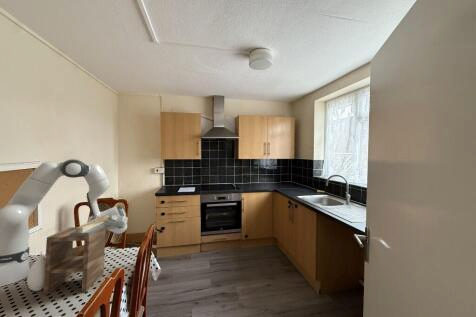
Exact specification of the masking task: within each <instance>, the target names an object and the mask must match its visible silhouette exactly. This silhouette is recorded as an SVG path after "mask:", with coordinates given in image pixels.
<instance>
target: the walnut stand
mask: <svg viewBox="0 0 476 317" xmlns="http://www.w3.org/2000/svg"><path fill="white" fill-rule="evenodd" d="M76 228H77V226H74V227H68V228H66V229H63V230H60V231H58V232H56V233H54V234H51V235H49V236H47V237H46V244H45V274H44V288H43V292H42V293H43V294H42V295H43V296H47V295H49V294H51V293H52V292H53V291H54V290H55V289H57V288H58V287H59V286H61V285H62V284H63V283H65V282H66V281H67V280H68V279H70V278H71V277H72V273H79V272H81V273H82V277H81V280H82V281H81V293H87V292H88V291H89V290H90V287H91V286H92V285H93V284H94V283H95V282H96V281H97V282H98V281H99V280H100V279H101V278H102V275H103V276H104V271H105V270H104V268H105V267H104V266H105V250H106V247H105V246H106V230H107V229H106V227H103V228H102V229H100V230H98V231H96V232H95V233H93V234H91V235H89V236H70V233H72V232H74V231H76ZM78 241H79V242H80V241H81V242H83V245H84V256H72V250H73V248H74V247H73V245H74V242H78ZM99 278H100V279H99ZM97 282H96V283H97ZM96 283H95V284H96ZM95 284H94V285H95ZM94 285H93V286H94ZM93 286H92V287H93ZM92 287H91V288H92Z"/></svg>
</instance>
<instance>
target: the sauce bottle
mask: <svg viewBox="0 0 476 317" xmlns="http://www.w3.org/2000/svg"><path fill="white" fill-rule="evenodd" d="M45 258H46V255H43V253H42V251H40V256H38V257H37V258H36V260H35V261H34V262H33V263H32V265H31V267H30V271H29V273H28V276H27V277H26V278H27V279H26V285H27V287H28V289H30V290H31V291H34V292H39V291H41V290H42V289H43V290H44V274H45Z"/></svg>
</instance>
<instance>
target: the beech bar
mask: <svg viewBox="0 0 476 317" xmlns="http://www.w3.org/2000/svg"><path fill="white" fill-rule="evenodd" d="M107 220H108V216H101V217H99V218H97V219H95V220H92V221H90V222H88V223H87V222H86V223H84V224H82V225H80V226H78V227H77V226H76V227H77V228H76V233H84V232H86V231H88V230H90V229H92V228H94V227H95V226H97V225H99V224H101V223H103V222H105V221H107Z"/></svg>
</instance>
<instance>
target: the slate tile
mask: <svg viewBox="0 0 476 317" xmlns="http://www.w3.org/2000/svg"><path fill="white" fill-rule="evenodd" d="M103 227H104V224H99V225H97V226H95V227H94V228H92V229H90V230H88V231H86V232H84V233H76V231H74V232H72V233H70V236H89V235H91V234H93V233H95V232H96V231H98V230H100V229H102V228H103Z"/></svg>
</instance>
